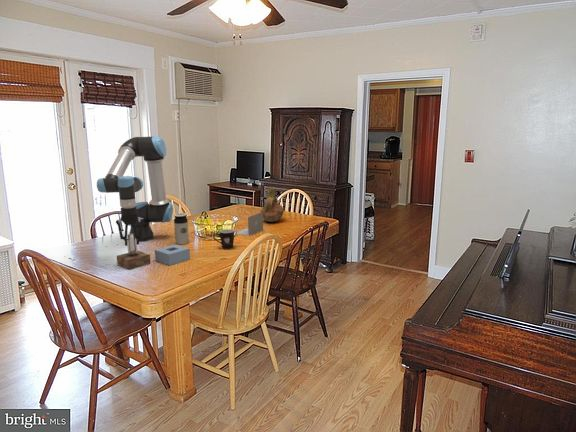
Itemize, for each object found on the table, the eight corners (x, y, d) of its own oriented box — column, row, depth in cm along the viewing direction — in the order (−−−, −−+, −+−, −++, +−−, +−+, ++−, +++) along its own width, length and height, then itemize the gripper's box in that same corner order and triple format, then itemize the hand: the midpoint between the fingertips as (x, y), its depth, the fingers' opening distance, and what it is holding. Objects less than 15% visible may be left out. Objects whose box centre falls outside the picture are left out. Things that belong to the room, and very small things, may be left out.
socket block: (155, 260, 222) (154, 249, 221) (175, 254, 232) (175, 244, 230) (169, 265, 214) (168, 254, 212) (190, 259, 223) (189, 248, 222)
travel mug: (175, 242, 257) (172, 213, 253) (188, 240, 259) (186, 212, 255) (176, 245, 249) (174, 216, 245) (189, 243, 252) (187, 215, 248)
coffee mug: (237, 246, 246) (236, 229, 244) (230, 250, 238) (230, 233, 236) (220, 244, 250) (219, 228, 248) (213, 248, 242) (212, 232, 240)
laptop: (248, 228, 290) (247, 210, 287) (263, 230, 284) (262, 211, 281) (233, 234, 274) (232, 215, 271) (248, 236, 268) (248, 217, 266)
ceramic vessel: (286, 217, 320) (285, 185, 315) (281, 225, 295) (280, 190, 289) (264, 217, 322) (263, 185, 317) (257, 224, 297) (256, 190, 292)
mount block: (117, 264, 216) (116, 255, 215) (138, 259, 225) (137, 250, 224) (129, 269, 208) (128, 260, 207) (150, 263, 217) (149, 254, 216)
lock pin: (129, 262, 216) (126, 234, 213) (135, 260, 218) (132, 233, 215) (132, 263, 214) (129, 235, 211) (138, 261, 216) (135, 234, 213)
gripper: (110, 209, 204) (115, 255, 209) (145, 207, 209) (149, 251, 214) (111, 206, 210) (116, 250, 216) (145, 204, 216) (149, 247, 221)
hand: (132, 251), depth 215 cm, fingers closed on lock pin, 3 cm apart
